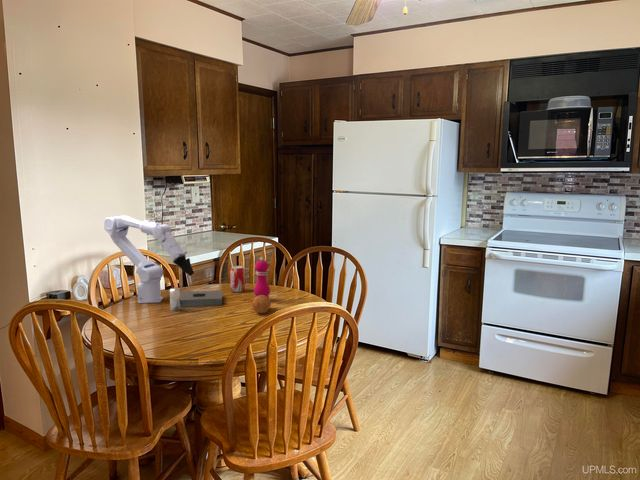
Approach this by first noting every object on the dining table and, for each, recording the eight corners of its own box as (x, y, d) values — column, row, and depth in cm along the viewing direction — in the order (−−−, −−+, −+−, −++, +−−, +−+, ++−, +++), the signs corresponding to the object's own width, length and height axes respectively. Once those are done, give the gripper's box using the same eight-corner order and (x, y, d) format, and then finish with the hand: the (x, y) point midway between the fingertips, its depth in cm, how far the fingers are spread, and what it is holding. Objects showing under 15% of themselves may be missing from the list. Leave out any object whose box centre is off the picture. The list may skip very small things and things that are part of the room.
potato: (249, 315, 193) (249, 298, 192) (256, 306, 206) (256, 290, 205) (266, 316, 192) (266, 299, 191) (273, 307, 205) (273, 291, 204)
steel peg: (169, 311, 199) (168, 290, 197) (171, 308, 202) (170, 287, 201) (179, 310, 199) (178, 289, 198) (180, 308, 203) (180, 287, 202)
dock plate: (174, 307, 205) (173, 300, 204) (178, 298, 218) (177, 292, 218) (221, 305, 208) (221, 298, 207) (222, 296, 222) (222, 290, 221)
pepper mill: (271, 298, 219) (271, 256, 216) (268, 302, 212) (268, 258, 209) (256, 298, 220) (255, 255, 217) (252, 302, 213) (251, 258, 210)
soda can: (243, 292, 229) (243, 268, 227) (229, 292, 229) (228, 268, 227) (246, 289, 236) (245, 265, 234) (232, 289, 236) (231, 265, 234)
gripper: (177, 239, 200) (195, 265, 198) (184, 245, 214) (201, 270, 213) (162, 249, 199) (180, 275, 197) (171, 254, 213) (187, 279, 211)
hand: (190, 273), depth 205 cm, fingers open, 7 cm apart
